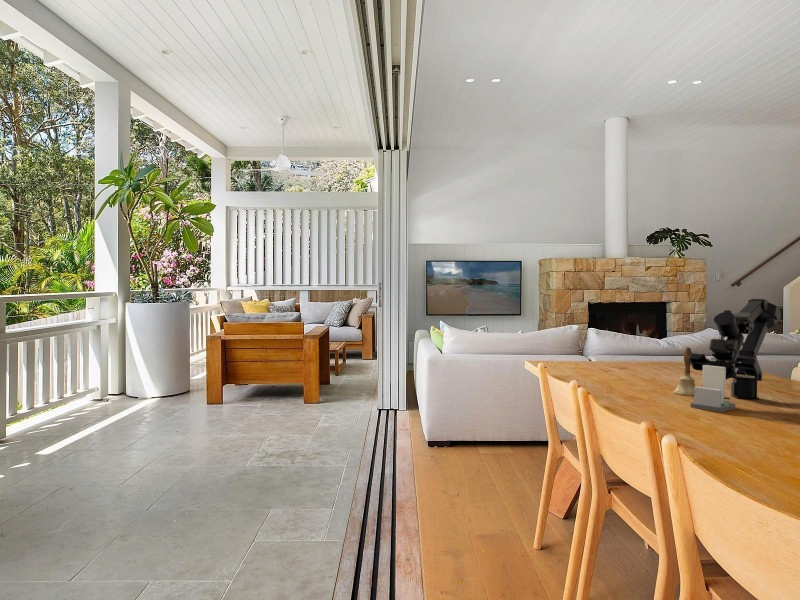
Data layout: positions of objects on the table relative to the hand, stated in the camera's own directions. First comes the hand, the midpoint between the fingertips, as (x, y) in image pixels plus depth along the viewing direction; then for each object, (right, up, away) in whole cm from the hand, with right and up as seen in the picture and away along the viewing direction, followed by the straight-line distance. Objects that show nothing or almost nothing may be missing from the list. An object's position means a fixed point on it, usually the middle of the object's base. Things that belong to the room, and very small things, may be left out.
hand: (715, 385), depth 169 cm
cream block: (-1, -5, -1) cm, 5 cm away
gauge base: (-1, -7, -1) cm, 7 cm away
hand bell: (+3, -7, +22) cm, 23 cm away
